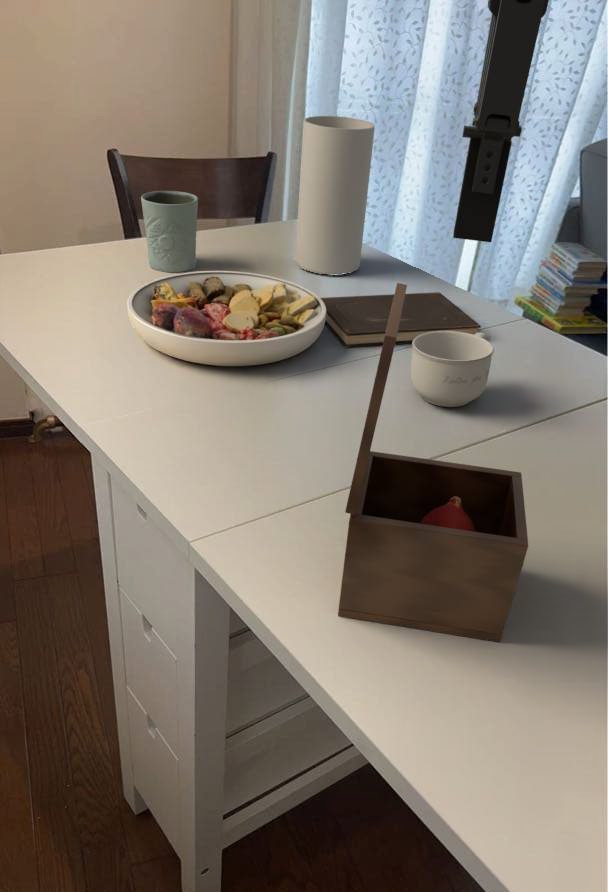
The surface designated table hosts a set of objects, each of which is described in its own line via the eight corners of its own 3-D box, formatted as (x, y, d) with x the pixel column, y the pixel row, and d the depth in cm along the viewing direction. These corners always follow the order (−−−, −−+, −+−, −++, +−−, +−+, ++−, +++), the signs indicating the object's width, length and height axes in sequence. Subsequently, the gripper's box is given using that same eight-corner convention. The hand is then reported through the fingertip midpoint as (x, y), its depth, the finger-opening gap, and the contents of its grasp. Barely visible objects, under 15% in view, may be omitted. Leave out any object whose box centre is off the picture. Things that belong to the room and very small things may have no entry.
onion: (401, 564, 79) (421, 486, 77) (457, 576, 79) (478, 498, 78) (411, 578, 73) (432, 493, 72) (471, 591, 73) (494, 507, 72)
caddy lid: (407, 284, 66) (397, 282, 66) (396, 337, 57) (384, 335, 57) (369, 446, 76) (360, 444, 76) (354, 515, 66) (344, 512, 66)
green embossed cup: (164, 277, 143) (161, 207, 136) (133, 261, 149) (129, 193, 142) (210, 267, 149) (209, 199, 142) (178, 253, 155) (176, 187, 148)
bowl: (183, 288, 139) (182, 242, 135) (347, 320, 132) (352, 272, 128) (91, 350, 116) (86, 297, 111) (284, 392, 109) (287, 337, 104)
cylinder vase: (326, 281, 147) (338, 131, 132) (281, 262, 154) (288, 118, 140) (372, 269, 154) (389, 126, 140) (328, 252, 162) (339, 114, 147)
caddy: (497, 563, 81) (521, 472, 75) (500, 642, 72) (528, 545, 65) (352, 541, 82) (364, 449, 76) (337, 616, 73) (349, 518, 67)
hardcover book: (478, 339, 129) (481, 325, 128) (345, 348, 123) (346, 333, 122) (436, 303, 141) (438, 290, 140) (313, 310, 135) (314, 296, 134)
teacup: (442, 422, 105) (453, 365, 100) (388, 390, 112) (396, 335, 107) (513, 399, 112) (527, 345, 107) (459, 370, 119) (469, 318, 114)
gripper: (485, -192, 49) (423, 209, 63) (491, -235, 39) (415, 257, 53) (609, -183, 49) (519, 220, 62) (649, -224, 38) (530, 271, 52)
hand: (472, 237), depth 58 cm, fingers closed
